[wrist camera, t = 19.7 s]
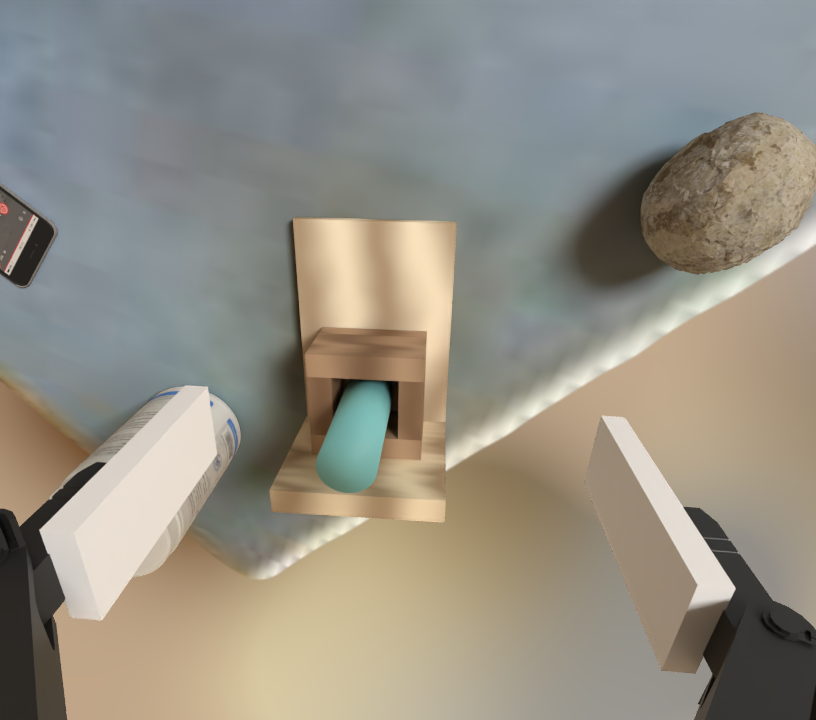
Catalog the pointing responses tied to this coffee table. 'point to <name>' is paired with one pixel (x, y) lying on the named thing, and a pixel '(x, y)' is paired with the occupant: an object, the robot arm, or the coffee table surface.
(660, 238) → the decorative stone
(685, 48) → the coffee table surface
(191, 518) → the supplement tub
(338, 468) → the dowel
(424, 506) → the jig
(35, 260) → the smartphone
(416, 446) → the block
